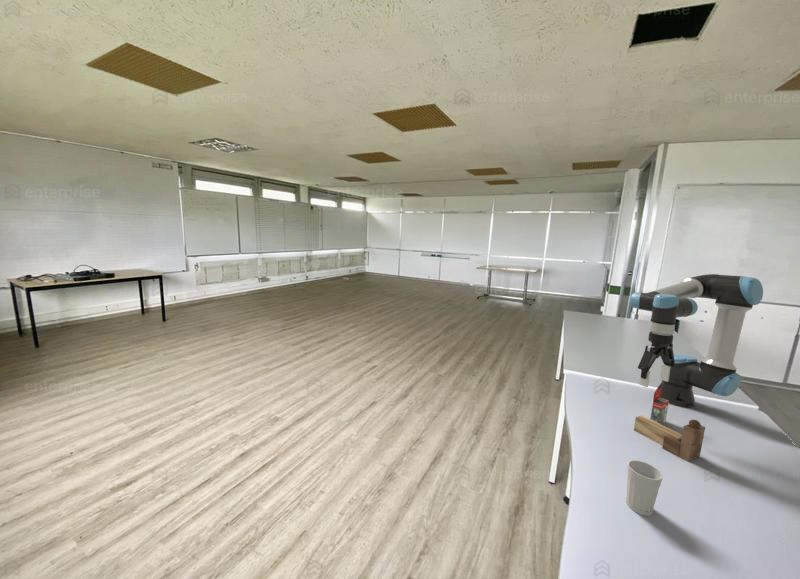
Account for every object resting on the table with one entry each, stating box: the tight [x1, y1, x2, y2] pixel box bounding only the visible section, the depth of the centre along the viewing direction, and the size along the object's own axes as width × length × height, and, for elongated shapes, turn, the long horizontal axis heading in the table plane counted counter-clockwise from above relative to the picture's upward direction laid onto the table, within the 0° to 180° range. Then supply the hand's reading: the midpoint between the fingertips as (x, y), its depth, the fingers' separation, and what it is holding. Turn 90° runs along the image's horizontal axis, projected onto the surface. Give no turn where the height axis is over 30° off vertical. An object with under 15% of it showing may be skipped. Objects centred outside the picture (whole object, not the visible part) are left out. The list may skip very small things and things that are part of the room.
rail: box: [633, 415, 682, 446], centre depth 125 cm, size 4×16×6 cm, turn 21°
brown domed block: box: [661, 419, 706, 462], centre depth 117 cm, size 8×8×14 cm
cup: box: [625, 459, 664, 517], centre depth 92 cm, size 8×8×12 cm
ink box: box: [649, 388, 670, 425], centre depth 138 cm, size 4×8×15 cm, turn 123°
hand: (654, 383), depth 129 cm, fingers open, 13 cm apart
